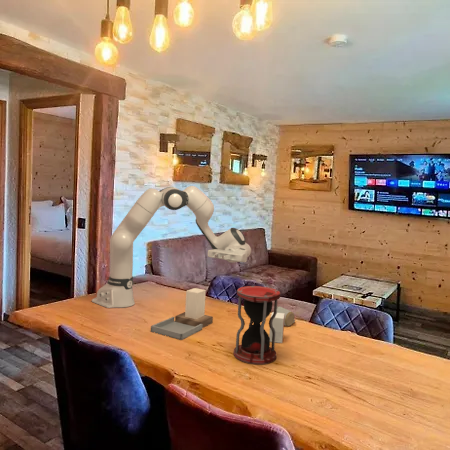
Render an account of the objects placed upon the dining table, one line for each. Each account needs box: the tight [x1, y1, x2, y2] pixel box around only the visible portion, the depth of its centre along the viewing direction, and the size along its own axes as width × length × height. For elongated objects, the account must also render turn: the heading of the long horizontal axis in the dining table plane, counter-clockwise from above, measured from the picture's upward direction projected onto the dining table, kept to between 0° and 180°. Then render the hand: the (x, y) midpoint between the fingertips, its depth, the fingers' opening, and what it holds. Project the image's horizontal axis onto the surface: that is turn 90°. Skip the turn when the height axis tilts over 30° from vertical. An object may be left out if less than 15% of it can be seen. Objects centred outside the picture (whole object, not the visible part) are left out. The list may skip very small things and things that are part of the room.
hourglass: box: [233, 285, 281, 365], centre depth 157 cm, size 16×16×25 cm
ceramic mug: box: [277, 306, 296, 327], centre depth 197 cm, size 11×8×8 cm
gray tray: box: [150, 316, 203, 341], centre depth 180 cm, size 16×16×2 cm
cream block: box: [184, 287, 207, 319], centre depth 191 cm, size 6×7×12 cm
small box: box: [268, 311, 285, 344], centre depth 175 cm, size 8×6×10 cm
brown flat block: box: [174, 311, 214, 329], centre depth 191 cm, size 14×10×3 cm
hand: (219, 257), depth 206 cm, fingers open, 3 cm apart
